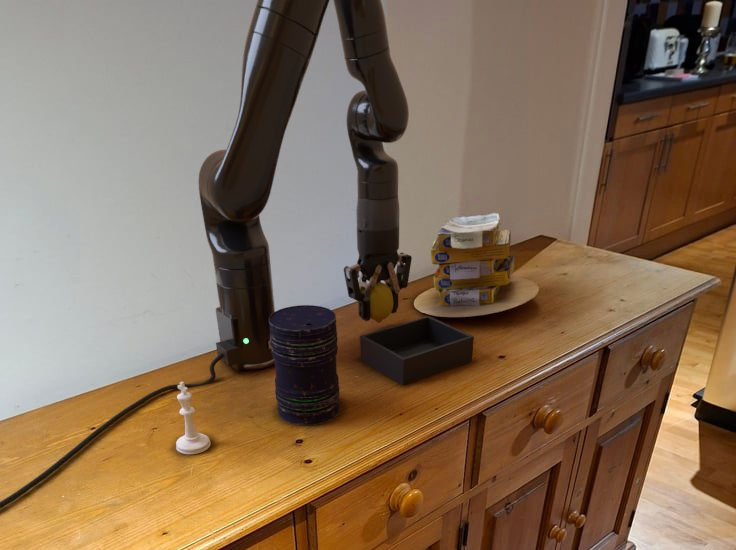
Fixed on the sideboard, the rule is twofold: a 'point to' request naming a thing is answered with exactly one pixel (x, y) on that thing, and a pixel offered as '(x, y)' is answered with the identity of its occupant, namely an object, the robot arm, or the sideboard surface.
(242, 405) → the sideboard surface
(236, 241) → the robot arm
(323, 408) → the storage jar
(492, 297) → the plate of stacked packets
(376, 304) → the lemon
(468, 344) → the bin
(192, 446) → the chess piece
